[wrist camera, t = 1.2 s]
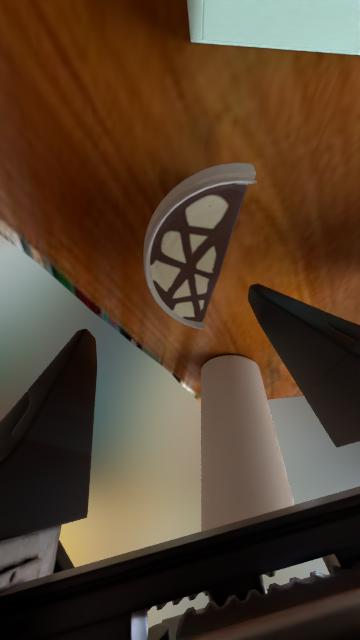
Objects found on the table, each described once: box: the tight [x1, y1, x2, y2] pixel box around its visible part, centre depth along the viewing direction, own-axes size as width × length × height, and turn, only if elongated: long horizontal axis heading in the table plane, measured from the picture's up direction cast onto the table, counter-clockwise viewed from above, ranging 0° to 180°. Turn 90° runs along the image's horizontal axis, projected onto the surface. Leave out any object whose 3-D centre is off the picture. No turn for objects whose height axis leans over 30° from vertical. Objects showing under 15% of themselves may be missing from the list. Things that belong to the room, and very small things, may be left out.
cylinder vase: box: [201, 355, 294, 532], centre depth 31 cm, size 12×12×25 cm
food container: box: [143, 163, 257, 330], centre depth 16 cm, size 12×6×10 cm, turn 172°
